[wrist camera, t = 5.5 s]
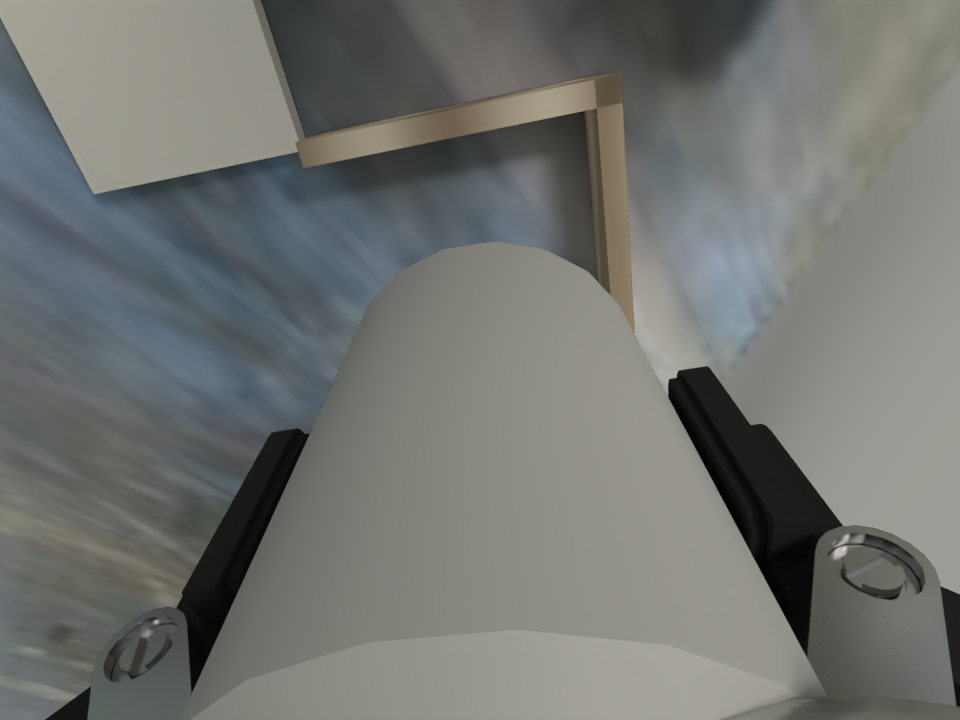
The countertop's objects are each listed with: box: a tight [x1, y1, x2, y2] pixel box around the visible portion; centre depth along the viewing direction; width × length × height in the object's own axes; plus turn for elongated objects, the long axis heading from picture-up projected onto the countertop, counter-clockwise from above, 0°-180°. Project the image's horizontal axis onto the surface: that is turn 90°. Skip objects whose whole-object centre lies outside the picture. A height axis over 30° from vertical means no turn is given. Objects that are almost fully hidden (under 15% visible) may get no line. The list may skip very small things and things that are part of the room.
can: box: [180, 241, 827, 720], centre depth 10 cm, size 8×8×12 cm
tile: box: [0, 0, 305, 194], centre depth 22 cm, size 10×10×1 cm
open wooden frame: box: [295, 74, 635, 334], centre depth 25 cm, size 13×13×3 cm
